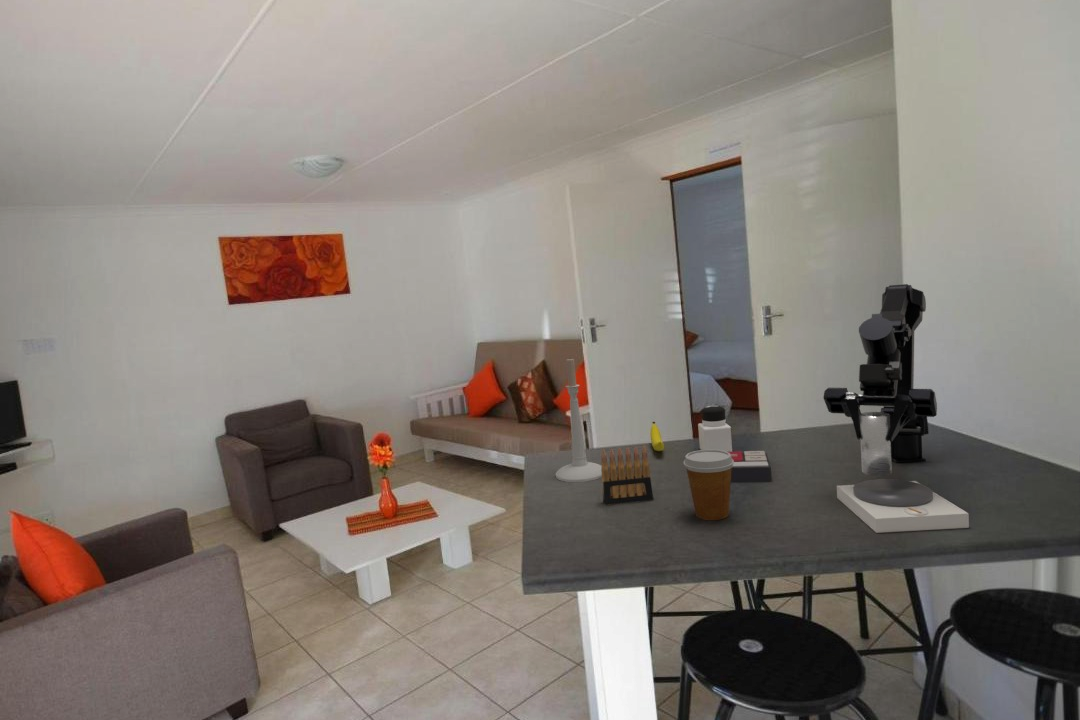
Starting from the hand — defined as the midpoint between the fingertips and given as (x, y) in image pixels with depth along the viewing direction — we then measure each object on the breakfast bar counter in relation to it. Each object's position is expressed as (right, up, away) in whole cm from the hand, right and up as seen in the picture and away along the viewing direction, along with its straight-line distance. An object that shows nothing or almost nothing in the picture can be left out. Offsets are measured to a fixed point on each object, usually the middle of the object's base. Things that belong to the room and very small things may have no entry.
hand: (874, 439), depth 117 cm
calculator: (-14, -12, +31) cm, 36 cm away
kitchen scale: (+4, -13, -1) cm, 14 cm away
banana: (-30, -11, +57) cm, 65 cm away
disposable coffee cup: (-28, -16, +7) cm, 33 cm away
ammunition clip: (-43, -16, +19) cm, 50 cm away
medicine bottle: (-15, -10, +51) cm, 54 cm away
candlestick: (-52, -14, +42) cm, 68 cm away
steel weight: (+1, -6, +2) cm, 7 cm away
